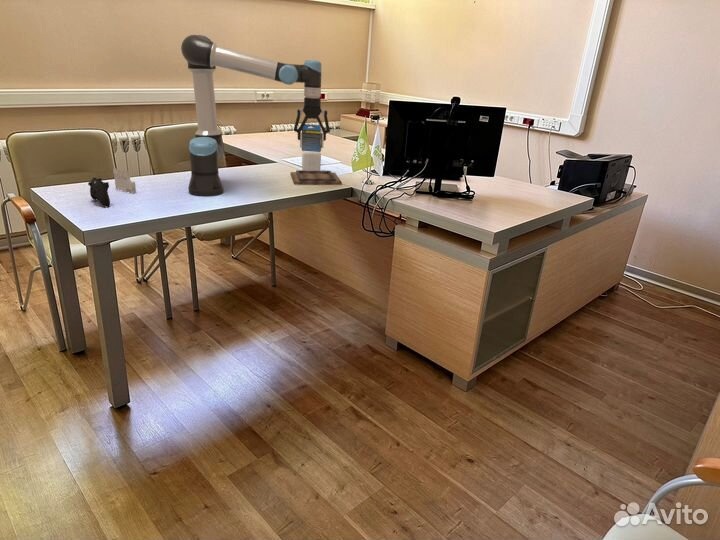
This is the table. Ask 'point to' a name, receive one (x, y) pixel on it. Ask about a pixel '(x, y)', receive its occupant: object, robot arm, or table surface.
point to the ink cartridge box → (124, 181)
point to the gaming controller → (99, 191)
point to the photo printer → (311, 161)
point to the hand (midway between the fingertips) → (311, 147)
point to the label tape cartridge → (311, 138)
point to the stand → (315, 178)
